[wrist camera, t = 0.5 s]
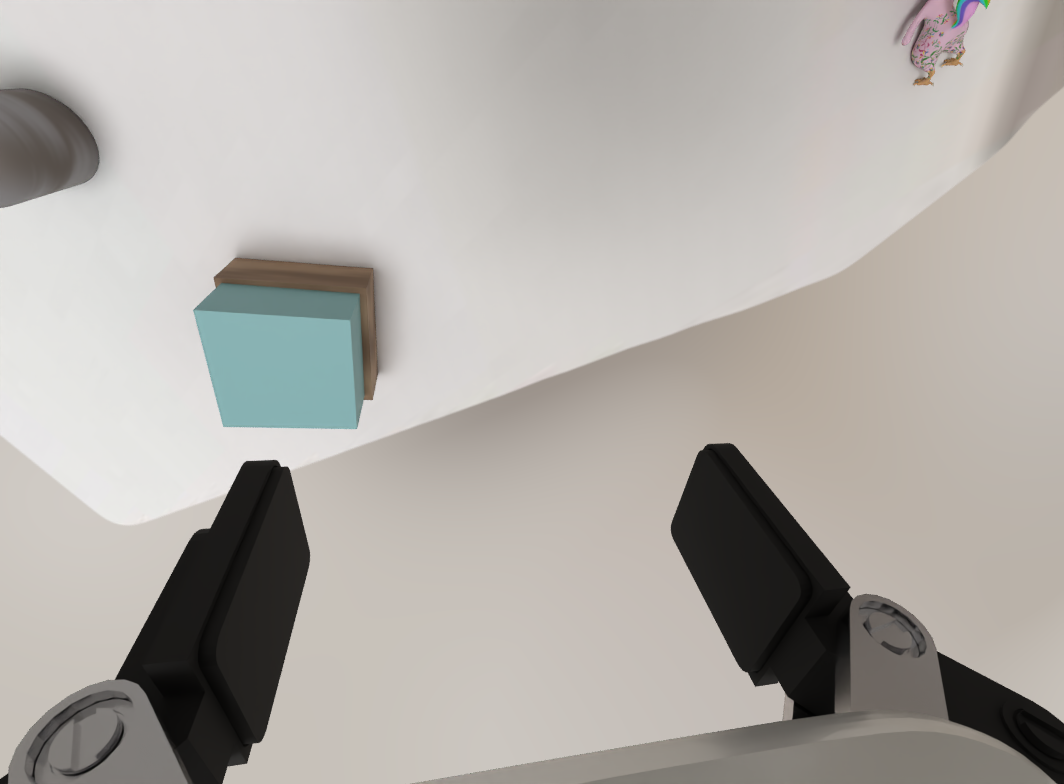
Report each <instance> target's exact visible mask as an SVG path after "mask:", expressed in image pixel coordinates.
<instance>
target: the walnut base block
mask: <svg viewBox="0 0 1064 784" xmlns="http://www.w3.org/2000/svg"><path fill="white" fill-rule="evenodd" d="M214 282H215V286H216V288H217V287H218V286H219V285H220V284H221V283H228V284H241V285H254V286H266V287H279V288H292V289H305V290H318V291H331V292H344V293H356V294H360V313H361V333H362V353H363V374H364V394H365V396H364V400H373V396H374V391H375V385H376V380H377V375H378V367H377V345H376V324H375V302H374V281H373V269H372V268H359V267H346V266H333V265H321V264H308V263H295V262H282V261H269V260H256V259H243V258H235V259H234V260H233V261H231V262H230V263H229V264H228V265H227V266H226V267H225V268H224V269H223V270H222V271H220V272H219V273H218V274H217V275H216V276H215V277H214Z"/></svg>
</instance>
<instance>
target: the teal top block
mask: <svg viewBox="0 0 1064 784" xmlns="http://www.w3.org/2000/svg"><path fill="white" fill-rule="evenodd" d="M193 311H194V315H195V319H196V322H197V326H198V330H199V334H200V338H201V342H202V346H203V350H204V353H205V357H206V361H207V365H208V369H209V373H210V377H211V381H212V384H213V388H214V392H215V396H216V400H217V404H218V408H219V412H220V416H221V419H222V423H223V427H266V428H325V429H357V427H358V422H359V418H360V413H361V409H362V405H363V400H364V396H365V394H364V374H363V353H362V333H361V313H360V294H356V293H344V292H331V291H318V290H305V289H292V288H279V287H266V286H254V285H241V284H228V283H221V284H220V285H219V286H218V287H217V288H216V289H215V290H214V291H212V292H211V293H210V294H209V295H208V296H207V297H206V298H205V299H204V300H203V301H202V302H201V303H200V304H199V305H198V306H197V307H196V308H195V309H194V310H193Z"/></svg>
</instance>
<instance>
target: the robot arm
mask: <svg viewBox="0 0 1064 784" xmlns="http://www.w3.org/2000/svg"><path fill="white" fill-rule="evenodd" d="M671 534H672V537H673V539H674V541H675V543H676V545H677V547H678V549H679V551H680V553H681V555H682V557H683V559H684V561H685V563H686V565H687V567H688V569H689V570H690V572H691V574H692V576H693V578H694V580H695V582H696V584H697V586H698V588H699V590H700V592H701V594H702V596H703V598H704V599H705V602H706V603H707V605H708V607H709V609H710V611H711V613H712V615H713V617H714V619H715V621H716V623H717V625H718V627H719V628H720V630H721V632H722V634H723V636H724V638H725V640H726V642H727V644H728V646H729V648H730V650H731V652H732V654H733V656H734V658H735V660H736V662H737V663H738V665H739V667H740V668H741V669H742V670H743V671H745V672H748V674H749V676H750V678H751V680H752V681H753V683H754V685H755V686H763V685H769V684H775V683H778V681H779V683H780V684H781V686H782V688H783V690H784V691H785V703H784V711H783V721H779V722H773V723H767V724H761V725H755V726H749V727H742V728H736V729H730V730H725V731H718V732H712V733H706V734H700V735H694V736H687V737H681V738H676V739H669V740H663V741H657V742H651V743H645V744H640V745H633V746H628V747H622V748H616V749H610V750H604V751H598V752H592V753H586V754H580V755H574V756H568V757H563V758H557V759H551V760H545V761H539V762H533V763H527V764H521V765H515V766H510V767H504V768H498V769H493V770H487V771H482V772H475V773H470V774H464V775H458V776H452V777H447V778H441V779H436V780H429V781H424V782H419V783H412V784H1064V723H1062V722H1061V721H1060V720H1059V719H1057V718H1056V717H1055V716H1054V715H1052V714H1051V713H1050V712H1049V711H1047V710H1046V709H1044V708H1043V707H1041V706H1039V705H1038V704H1036V703H1034V702H1033V701H1031V700H1029V699H1027V698H1025V697H1023V696H1022V695H1020V694H1018V693H1016V692H1014V691H1012V690H1010V689H1008V688H1006V687H1004V686H1002V685H1000V684H998V683H996V682H994V681H993V680H991V679H989V678H987V677H985V676H983V675H981V674H979V673H978V672H976V671H974V670H972V669H970V668H968V667H966V666H964V665H962V664H960V663H958V662H956V661H955V660H953V659H951V658H949V657H947V656H945V655H943V654H941V653H939V652H937V650H936V647H935V644H934V641H933V639H932V637H931V635H930V634H929V632H928V631H927V629H926V628H925V626H924V625H923V624H922V623H921V622H920V621H919V620H918V619H917V618H916V617H915V616H914V615H913V614H911V613H910V612H909V611H907V610H906V609H905V608H903V607H902V606H900V605H898V604H897V603H895V602H893V601H891V600H889V599H886V598H883V597H880V596H878V595H871V594H863V595H859V596H857V597H855V598H854V599H853V598H852V597H851V596H850V594H849V593H848V592H847V591H848V590H849V588H850V586H849V585H848V584H847V582H846V581H845V580H844V579H843V578H842V576H841V575H840V574H839V573H838V571H837V570H836V569H835V568H834V566H833V565H832V564H831V563H830V562H829V560H828V559H827V558H826V557H825V556H824V554H823V553H822V552H821V551H820V549H819V548H818V547H817V546H816V544H815V543H814V542H813V541H812V540H811V538H810V537H809V536H808V535H807V533H806V532H805V531H804V530H803V529H802V527H801V526H800V525H799V524H798V522H797V521H796V520H795V519H794V517H793V516H792V515H791V514H790V513H789V511H788V510H787V509H786V508H785V507H784V505H783V504H782V503H781V502H780V500H779V499H778V498H777V497H776V495H775V494H774V493H773V492H772V491H771V489H770V488H769V487H768V486H767V484H766V483H765V482H764V481H763V479H762V478H761V477H760V476H759V475H758V474H757V472H756V471H755V470H754V469H753V467H752V466H751V465H750V464H749V462H748V461H747V460H746V459H745V457H744V456H743V455H742V454H741V453H740V451H739V450H738V449H737V448H736V447H735V446H734V445H733V444H730V443H724V444H708V445H707V446H705V448H704V449H703V450H702V451H700V452H699V453H698V455H697V457H696V460H695V463H694V465H693V468H692V471H691V473H690V476H689V478H688V481H687V484H686V486H685V489H684V492H683V494H682V497H681V500H680V502H679V505H678V507H677V510H676V513H675V515H674V518H673V521H672V524H671ZM309 562H310V550H309V546H308V542H307V538H306V534H305V530H304V526H303V522H302V517H301V513H300V509H299V505H298V501H297V497H296V494H295V489H294V485H293V481H292V477H291V473H290V470H289V468H288V467H281V466H280V464H279V462H278V461H277V460H264V461H246V462H245V463H244V464H243V465H242V467H241V469H240V471H239V473H238V475H237V477H236V479H235V481H234V483H233V485H232V487H231V489H230V490H229V492H228V494H227V496H226V499H225V501H224V502H223V505H222V506H221V508H220V510H219V512H218V514H217V516H216V518H215V520H214V522H213V524H212V526H211V528H210V529H201V530H198V531H197V532H196V533H194V535H193V536H192V538H191V539H190V541H189V542H188V544H187V546H186V548H185V550H184V552H183V554H182V555H181V557H180V559H179V561H178V563H177V565H176V567H175V568H174V570H173V572H172V574H171V576H170V578H169V580H168V581H167V583H166V585H165V587H164V589H163V591H162V593H161V594H160V597H159V598H158V600H157V602H156V604H155V606H154V608H153V610H152V611H151V613H150V615H149V617H148V619H147V621H146V623H145V624H144V626H143V628H142V630H141V632H140V634H139V636H138V638H137V639H136V641H135V643H134V645H133V647H132V649H131V651H130V652H129V654H128V656H127V658H126V660H125V662H124V664H123V666H122V667H121V669H120V671H119V673H118V675H117V677H116V679H115V680H107V681H103V682H100V683H97V684H93V685H90V686H87V687H85V688H84V689H81V690H79V691H77V692H75V693H73V694H72V695H70V696H68V697H67V698H65V699H64V700H62V701H61V702H60V703H58V704H57V705H55V706H54V707H53V708H51V709H50V710H48V712H46V713H45V715H43V716H42V718H40V719H39V720H38V721H37V722H36V723H35V724H34V725H33V726H32V727H31V728H30V729H29V731H28V732H27V734H26V735H25V737H24V738H23V739H22V741H21V742H20V744H19V745H18V747H17V748H16V750H15V753H14V755H13V758H12V760H11V763H10V765H9V773H8V774H7V775H5V776H4V777H3V778H1V779H0V784H222V783H223V780H224V776H225V773H226V770H227V766H234V765H240V764H247V761H248V758H249V755H250V751H251V747H252V744H253V743H259V742H261V741H262V739H263V737H264V735H265V732H266V729H267V725H268V721H269V717H270V714H271V710H272V706H273V702H274V698H275V694H276V690H277V687H278V683H279V679H280V675H281V671H282V668H283V664H284V660H285V656H286V652H287V649H288V645H289V640H290V637H291V633H292V629H293V626H294V622H295V618H296V614H297V610H298V606H299V603H300V598H301V595H302V591H303V587H304V584H305V580H306V576H307V572H308V568H309Z"/></svg>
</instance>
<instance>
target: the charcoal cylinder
mask: <svg viewBox="0 0 1064 784" xmlns="http://www.w3.org/2000/svg"><path fill="white" fill-rule="evenodd" d="M98 165H99V152H98V148H97V145H96V142H95V140H94V138H93V136H92V134H91V132H90V131H89V129H88V128H87V126H86V125H85V124H84V122H83V121H82V120H81V119H80V118H79V117H78V116H77V115H76V114H75V113H74V112H73V111H72V110H71V109H69V108H68V107H67V106H65V105H64V104H62V103H61V102H59V101H58V100H56V99H54V98H52V97H50V96H48V95H46V94H43V93H40V92H37V91H33V90H28V89H7V90H0V208H4V207H9V206H12V205H16V204H19V203H22V202H25V201H28V200H32V199H35V198H38V197H41V196H44V195H48V194H51V193H54V192H57V191H60V190H63V189H67V188H70V187H73V186H76V185H79V184H82V183H85V182H87V181H88V180H90V179H91V178H92V177H93V176H94V174H95V173H96V171H97V169H98Z"/></svg>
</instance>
